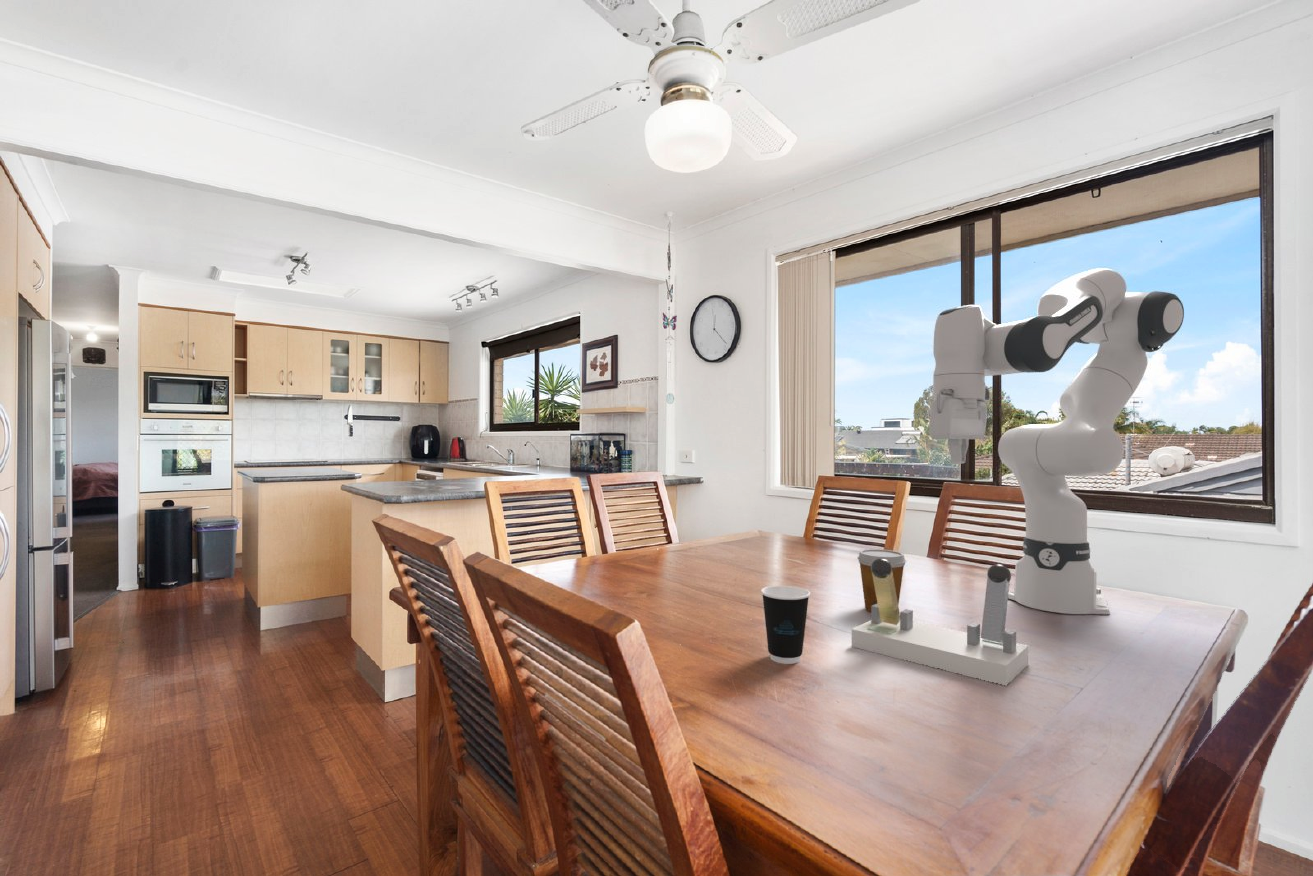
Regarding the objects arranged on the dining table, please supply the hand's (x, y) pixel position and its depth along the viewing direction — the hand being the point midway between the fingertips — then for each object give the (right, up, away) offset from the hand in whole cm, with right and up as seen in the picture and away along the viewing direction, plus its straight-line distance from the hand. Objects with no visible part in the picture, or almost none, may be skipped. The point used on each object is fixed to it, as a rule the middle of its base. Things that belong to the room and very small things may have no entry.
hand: (958, 463), depth 118 cm
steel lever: (-5, -28, -20) cm, 35 cm away
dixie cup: (-37, -31, -17) cm, 51 cm away
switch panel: (-11, -31, -16) cm, 37 cm away
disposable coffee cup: (-11, -31, +11) cm, 35 cm away
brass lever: (-16, -28, -9) cm, 34 cm away
